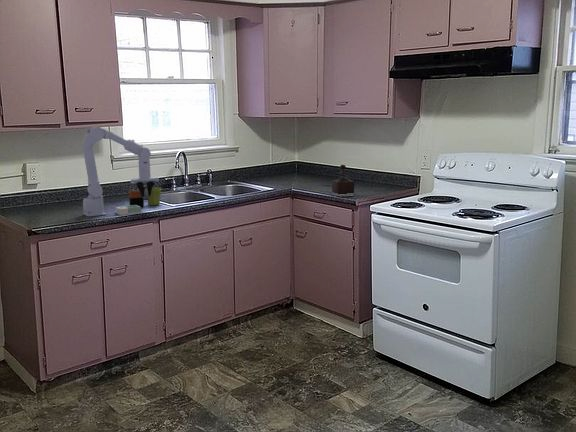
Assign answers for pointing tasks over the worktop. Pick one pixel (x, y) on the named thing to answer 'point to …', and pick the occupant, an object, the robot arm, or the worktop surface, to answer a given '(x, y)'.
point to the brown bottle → (342, 183)
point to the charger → (128, 210)
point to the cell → (146, 193)
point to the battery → (136, 198)
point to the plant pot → (154, 196)
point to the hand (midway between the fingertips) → (145, 196)
